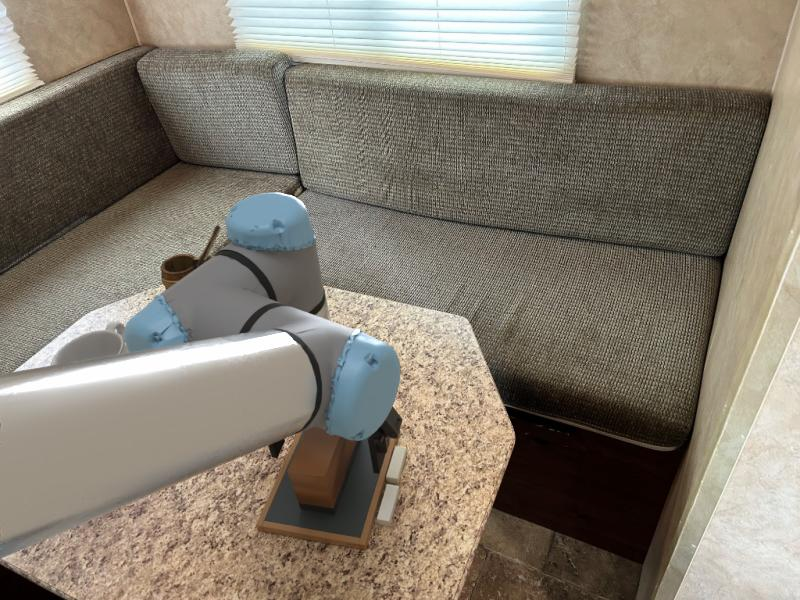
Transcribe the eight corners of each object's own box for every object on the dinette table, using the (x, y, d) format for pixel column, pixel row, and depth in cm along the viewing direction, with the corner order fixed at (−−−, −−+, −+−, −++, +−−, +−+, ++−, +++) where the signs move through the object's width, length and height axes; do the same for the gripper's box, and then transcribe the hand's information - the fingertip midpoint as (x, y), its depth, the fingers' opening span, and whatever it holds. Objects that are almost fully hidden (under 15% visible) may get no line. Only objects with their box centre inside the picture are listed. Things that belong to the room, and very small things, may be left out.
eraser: (334, 515, 74) (324, 476, 69) (300, 509, 75) (287, 470, 70) (362, 437, 83) (354, 398, 78) (330, 432, 84) (321, 394, 79)
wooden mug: (241, 327, 105) (213, 241, 94) (165, 332, 106) (128, 247, 95) (251, 295, 112) (226, 211, 101) (179, 299, 113) (146, 216, 101)
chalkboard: (366, 550, 72) (364, 545, 71) (257, 530, 75) (255, 525, 74) (400, 430, 85) (399, 424, 84) (307, 417, 88) (305, 412, 88)
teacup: (110, 421, 91) (89, 385, 86) (55, 406, 94) (31, 370, 89) (167, 358, 101) (151, 322, 96) (116, 346, 104) (97, 310, 99)
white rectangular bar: (377, 524, 74) (390, 526, 74) (376, 519, 74) (389, 521, 73) (387, 489, 78) (399, 491, 78) (386, 483, 77) (399, 485, 77)
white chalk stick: (386, 482, 79) (398, 484, 78) (385, 476, 78) (397, 478, 78) (396, 451, 82) (407, 452, 82) (395, 445, 82) (406, 447, 81)
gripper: (420, 321, 64) (429, 446, 77) (207, 301, 69) (250, 421, 83) (404, 372, 58) (417, 497, 72) (174, 346, 64) (226, 467, 77)
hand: (328, 457), depth 77 cm, fingers open, 13 cm apart
